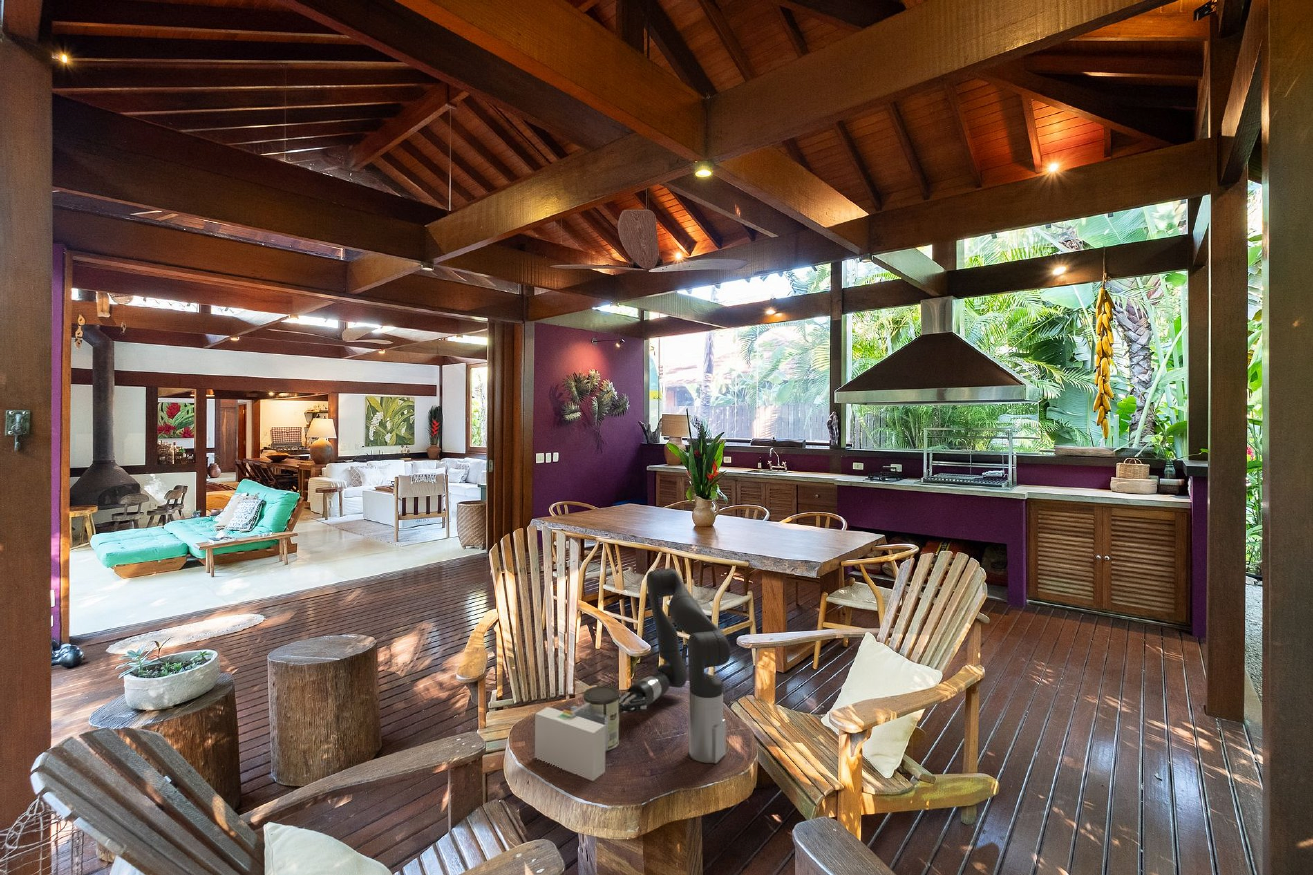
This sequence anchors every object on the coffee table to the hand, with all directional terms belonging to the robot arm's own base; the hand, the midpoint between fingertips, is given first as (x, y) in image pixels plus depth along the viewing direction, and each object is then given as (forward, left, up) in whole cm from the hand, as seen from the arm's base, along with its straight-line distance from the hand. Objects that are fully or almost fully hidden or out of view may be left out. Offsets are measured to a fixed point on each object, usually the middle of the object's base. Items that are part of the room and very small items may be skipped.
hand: (611, 712), depth 172 cm
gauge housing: (0, +19, -7) cm, 20 cm away
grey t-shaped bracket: (0, +14, -5) cm, 15 cm away
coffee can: (0, +5, -7) cm, 9 cm away
